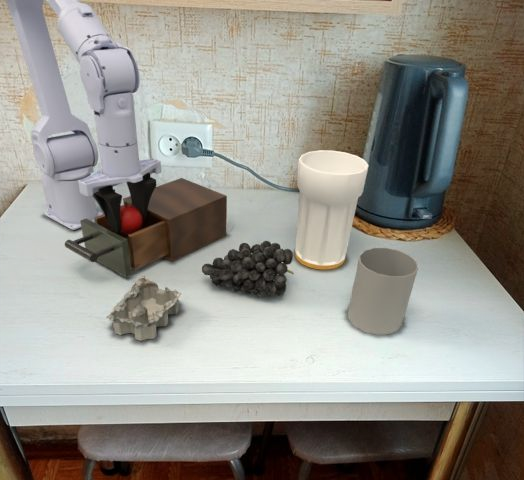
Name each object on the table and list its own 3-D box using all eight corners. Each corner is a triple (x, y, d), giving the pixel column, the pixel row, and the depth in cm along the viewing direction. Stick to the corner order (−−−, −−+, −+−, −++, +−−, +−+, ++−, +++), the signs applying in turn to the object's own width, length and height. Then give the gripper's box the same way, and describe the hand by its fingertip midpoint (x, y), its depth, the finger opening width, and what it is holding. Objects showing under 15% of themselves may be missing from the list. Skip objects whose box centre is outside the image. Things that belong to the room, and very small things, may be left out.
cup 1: (335, 240, 99) (350, 148, 88) (361, 269, 90) (381, 172, 79) (280, 245, 96) (288, 151, 85) (302, 276, 87) (314, 176, 76)
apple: (108, 232, 85) (103, 201, 82) (131, 223, 88) (127, 193, 85) (127, 242, 83) (123, 211, 80) (149, 233, 86) (146, 202, 83)
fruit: (196, 238, 77) (295, 248, 75) (209, 231, 84) (299, 240, 83) (194, 294, 80) (289, 305, 78) (207, 282, 87) (294, 292, 86)
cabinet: (171, 262, 89) (169, 219, 83) (127, 240, 94) (122, 198, 89) (226, 235, 97) (227, 195, 92) (183, 216, 103) (181, 177, 98)
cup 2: (389, 341, 75) (405, 283, 68) (339, 321, 78) (349, 264, 71) (409, 314, 80) (425, 258, 74) (361, 297, 83) (373, 242, 77)
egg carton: (146, 295, 80) (144, 272, 78) (187, 308, 78) (186, 285, 76) (103, 331, 73) (99, 307, 70) (148, 346, 71) (145, 323, 68)
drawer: (102, 289, 80) (96, 252, 75) (62, 265, 84) (54, 229, 80) (185, 249, 91) (184, 215, 87) (146, 230, 96) (142, 197, 91)
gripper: (94, 159, 70) (107, 248, 78) (172, 137, 79) (176, 219, 87) (63, 146, 73) (79, 233, 82) (141, 126, 82) (148, 206, 91)
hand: (128, 225), depth 85 cm, fingers closed on apple, 4 cm apart
